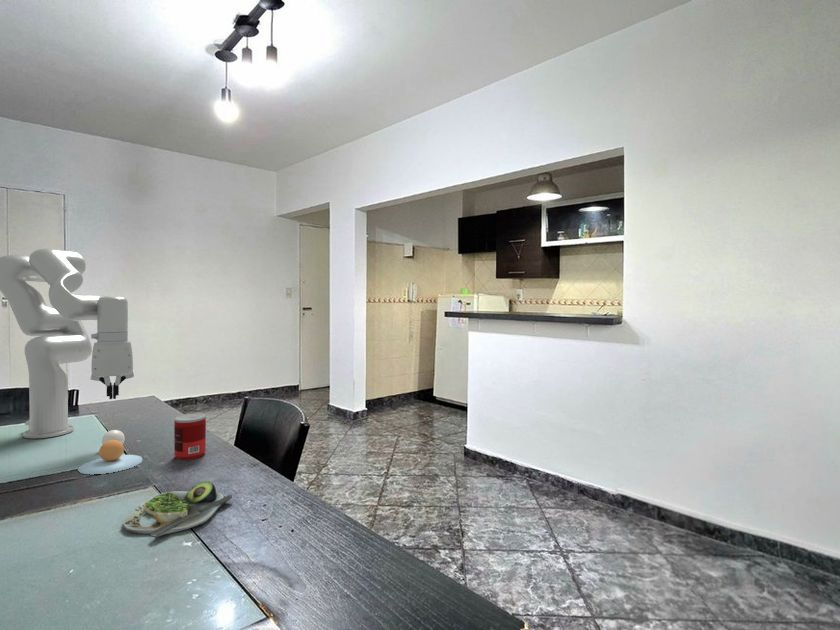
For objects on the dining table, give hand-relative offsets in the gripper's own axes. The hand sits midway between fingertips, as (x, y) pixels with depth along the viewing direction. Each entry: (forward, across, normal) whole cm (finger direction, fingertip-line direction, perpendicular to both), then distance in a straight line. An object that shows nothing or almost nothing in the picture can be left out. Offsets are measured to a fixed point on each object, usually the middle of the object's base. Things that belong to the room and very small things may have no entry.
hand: (112, 398), depth 133 cm
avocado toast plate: (+14, +12, -59) cm, 62 cm away
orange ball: (+11, 0, -17) cm, 20 cm away
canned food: (+14, +18, -23) cm, 33 cm away
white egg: (+11, 0, -6) cm, 12 cm away
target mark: (+14, 0, -20) cm, 24 cm away
